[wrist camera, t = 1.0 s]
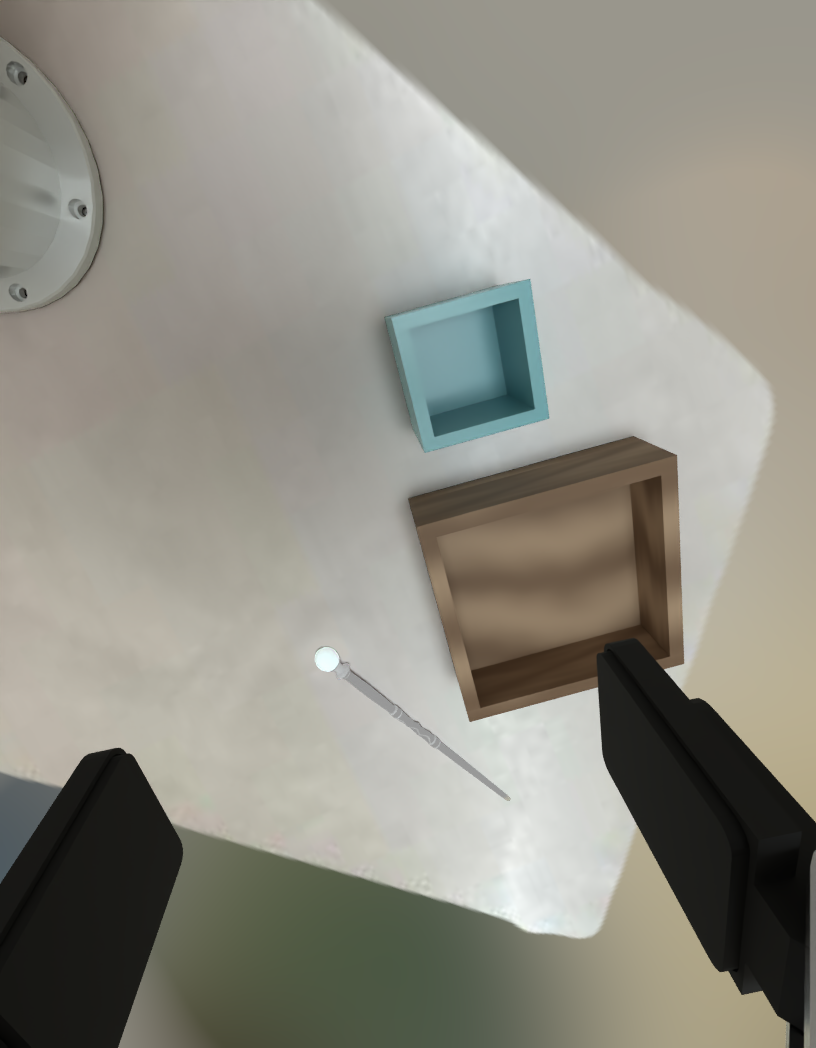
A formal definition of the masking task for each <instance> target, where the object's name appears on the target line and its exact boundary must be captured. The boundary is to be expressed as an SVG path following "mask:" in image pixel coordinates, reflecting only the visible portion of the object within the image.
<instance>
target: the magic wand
mask: <svg viewBox="0 0 816 1048" xmlns="http://www.w3.org/2000/svg"><path fill="white" fill-rule="evenodd" d="M315 663H316V665H317V666H318V668H319V669H321V670H323V671H327V672H329V671H331V672H332V671H335V672H336V678H337V679H338V680H340V679H342V678H343V679H346V680H347V681H348V682H349V683H351V684H352V685H353V686H354V687H355V688H357V689H358V690H359V691H360V692H362V693H363V694H364V695H366V696H367V697H368V698H370V699H371V700H373V701H374V702H375V703H377V704H378V705H380V706H381V707H382V708H384V709H385V710H387V711H388V712H389V714H390V715H392V716H393V717H394V718H396V719H397V720H399V721H401V722H403V723H404V724H405V725H406V726H408V727H410V728H411V729H412V730H413V731H414V732H416V733H417V734H418V735H419V736H421V737H422V738H423V739H425V740H426V741H427V742H428V744H430V745H431V746H432V747H434V748H437V749H438V750H440V751H441V752H442V753H444V754H445V755H446V756H448V757H449V758H450V759H452V760H453V761H454V762H456V763H457V764H458V765H460V766H461V767H462V768H464V769H465V770H466V771H468V772H469V773H470V774H472V775H473V776H474V777H476V778H477V779H478V780H480V781H481V782H482V783H484V784H485V785H486V786H488V787H489V788H490V789H492V790H493V791H494V792H496V793H497V794H498V795H500V796H501V797H503V798H504V799H505V800H507V801H510V797H509V796H508V795H506V794H505V793H504V792H503V791H502V790H500V789H499V788H498V787H497V786H496V785H494V784H493V783H492V782H491V781H489V780H488V779H487V778H486V777H484V776H483V775H482V774H481V773H480V772H478V771H477V770H476V769H475V768H473V767H472V766H471V765H470V764H468V763H467V762H466V761H465V760H463V759H462V758H461V757H459V756H458V755H457V754H456V753H454V752H453V751H452V750H451V749H449V748H448V747H447V746H446V745H444V744H443V743H442V742H441V741H440V739H439V738H437V737H436V736H435V735H432V734H431V733H430V732H429V731H427V730H425V729H424V728H423V727H421V726H420V724H419V723H417V722H415V721H413V720H412V719H411V718H410V717H408V716H407V715H406V714H405V713H404V712H403V711H402V710H401V709H400V708H399V707H397V706H396V705H393V704H392V703H391V702H389V701H388V700H387V699H386V698H385V697H383V696H382V695H381V694H380V693H378V692H377V691H376V690H375V689H374V688H372V687H371V686H370V685H368V684H367V683H366V682H365V681H363V680H362V679H360V678H359V677H358V676H356V675H355V674H353V673H352V672H350V665H349V664H348V663H344V664H341V663H340V659H339V656H338V654H337V652H336V651H335V650H334V649H332V648H329V647H323V648H321V649H319V650H318V651H317V653H316V655H315Z"/></svg>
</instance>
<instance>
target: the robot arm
mask: <svg viewBox="0 0 816 1048" xmlns="http://www.w3.org/2000/svg"><path fill="white" fill-rule="evenodd" d="M25 76H27V81H26V83H25V84H24V81H23V80H24V77H25ZM84 207H87V215H86V217H84V215H83V214H82V209H83V208H84ZM102 224H103V197H102V191H101V185H100V179H99V173H98V169H97V166H96V163H95V160H94V157H93V154H92V151H91V148H90V145H89V142H88V140H87V138H86V136H85V134H84V132H83V130H82V128H81V126H80V124H79V122H78V121H77V119H76V117H75V115H74V113H73V111H72V110H71V109H70V107H69V106H68V104H67V103H66V101H65V100H64V99H63V97H62V96H61V94H60V93H59V92H58V90H57V89H56V87H55V86H54V85H53V84H52V83H51V82H50V81H49V80H48V78H47V77H46V76H45V75H44V74H43V73H42V72H41V71H40V70H39V69H38V68H37V67H36V66H35V65H34V64H33V62H32V61H30V60H29V59H28V58H27V57H25V56H24V55H23V54H22V53H21V52H19V51H18V50H17V49H16V48H15V47H13V46H12V45H11V44H10V43H9V42H7V41H6V40H4V39H3V38H1V37H0V313H4V312H22V311H27V310H31V309H36V308H40V307H43V306H45V305H47V304H49V303H51V302H53V301H55V300H58V299H60V298H61V297H62V296H64V295H65V294H66V293H67V292H68V291H70V290H71V289H72V288H73V287H75V286H76V285H77V284H78V282H79V281H80V279H81V278H82V277H83V275H84V274H85V273H86V271H87V270H88V269H89V267H90V265H91V262H92V260H93V258H94V255H95V253H96V251H97V248H98V245H99V240H100V235H101V230H102ZM25 289H26V291H27V297H26V296H25V294H24V290H25ZM596 661H597V677H598V692H599V708H600V723H601V739H602V753H603V758H604V761H605V764H606V767H607V769H608V771H609V774H610V775H611V777H612V779H613V781H614V783H615V785H616V787H617V788H618V790H619V792H620V794H621V796H622V798H623V799H624V801H625V803H626V805H627V807H628V809H629V811H630V812H631V814H632V816H633V818H634V820H635V822H636V824H637V825H638V827H639V829H640V831H641V833H642V835H643V837H644V838H645V840H646V842H647V844H648V846H649V848H650V850H651V851H652V853H653V855H654V857H655V859H656V861H657V862H658V864H659V866H660V868H661V870H662V872H663V874H664V875H665V877H666V879H667V881H668V883H669V885H670V887H671V888H672V890H673V892H674V894H675V896H676V898H677V899H678V901H679V903H680V905H681V907H682V909H683V911H684V913H685V914H686V916H687V918H688V920H689V922H690V923H691V925H692V927H693V929H694V931H695V933H696V935H697V937H698V939H699V940H700V942H701V944H702V946H703V948H704V950H705V951H706V953H707V955H708V957H709V959H710V960H711V962H712V964H713V965H714V966H715V968H716V969H717V970H718V971H719V972H724V971H729V973H730V975H731V977H732V978H733V980H734V982H735V983H736V986H737V987H738V989H739V991H740V992H741V994H742V995H744V994H749V993H753V992H758V991H763V992H764V994H765V996H766V997H767V999H768V1000H769V1002H770V1004H771V1006H772V1007H773V1009H774V1010H775V1012H776V1014H777V1016H779V1017H781V1018H782V1019H784V1020H785V1021H787V1022H786V1048H816V823H815V821H814V820H813V819H812V818H811V817H810V816H809V815H808V813H806V811H805V810H804V809H803V808H802V807H801V806H800V805H799V803H798V802H797V801H796V800H795V799H794V798H793V797H792V796H791V795H790V793H789V792H788V791H787V790H786V789H785V788H784V787H783V786H782V785H781V784H780V782H778V780H777V779H776V778H775V777H774V776H773V775H772V773H771V772H770V771H769V770H768V769H767V768H766V767H765V766H764V765H763V763H762V762H761V761H760V760H759V759H758V758H757V757H756V756H755V755H754V754H753V752H752V751H751V750H750V749H749V748H748V747H747V746H746V745H745V743H744V742H743V741H742V740H741V739H740V738H739V737H738V736H737V735H736V733H735V732H734V731H733V730H732V729H731V728H730V727H729V726H728V725H727V724H726V722H725V721H724V720H723V719H722V718H721V717H720V716H719V715H718V713H717V712H716V711H715V710H714V709H713V708H712V707H711V706H710V705H709V704H708V703H706V701H704V700H702V699H700V698H696V699H691V700H689V699H688V697H687V696H686V695H685V694H684V693H683V692H682V690H681V689H680V688H679V687H678V686H677V685H676V683H675V682H674V681H673V680H672V679H671V678H670V676H669V675H668V674H667V673H666V672H665V671H664V669H663V668H662V667H661V666H660V665H659V664H658V662H657V661H656V660H655V659H654V658H653V657H652V655H651V654H650V653H649V652H648V651H647V650H646V648H645V647H644V646H643V645H642V644H641V643H640V642H639V641H638V640H637V639H636V638H630V639H625V640H621V641H616V642H611V643H607V644H605V646H604V652H601V653H598V654H597V656H596ZM182 856H183V848H182V843H181V840H180V838H179V837H178V835H177V833H176V831H175V829H174V828H173V826H172V824H171V822H170V821H169V819H168V817H167V815H166V813H165V812H164V810H163V808H162V806H161V804H160V803H159V801H158V799H157V797H156V795H155V794H154V792H153V790H152V788H151V786H150V785H149V783H148V781H147V779H146V777H145V776H144V774H143V772H142V770H141V768H140V767H139V765H138V763H137V761H136V759H135V758H134V756H133V755H131V754H130V753H129V754H126V752H125V751H124V750H123V749H121V748H114V749H109V750H105V751H100V752H95V753H91V754H88V755H86V756H85V757H84V758H83V759H82V760H81V761H80V763H79V764H78V766H77V767H76V769H75V770H74V772H73V774H72V775H71V777H70V778H69V780H68V781H67V783H66V784H65V786H64V787H63V789H62V790H61V792H60V793H59V795H58V796H57V798H56V800H55V801H54V803H53V804H52V806H51V807H50V809H49V810H48V812H47V813H46V815H45V816H44V818H43V819H42V821H41V822H40V824H39V825H38V827H37V829H36V830H35V832H34V833H33V835H32V836H31V838H30V839H29V841H28V842H27V844H26V845H25V847H24V848H23V850H22V852H21V853H20V854H19V856H18V858H17V859H16V861H15V862H14V864H13V865H12V867H11V868H10V870H9V871H8V873H7V874H6V876H5V877H4V879H3V881H2V882H1V884H0V1048H118V1046H119V1043H120V1040H121V1037H122V1034H123V1031H124V1028H125V1026H126V1023H127V1020H128V1017H129V1014H130V1011H131V1008H132V1005H133V1002H134V999H135V996H136V994H137V991H138V988H139V985H140V982H141V979H142V976H143V973H144V970H145V967H146V964H147V962H148V959H149V955H150V953H151V950H152V947H153V944H154V941H155V938H156V935H157V932H158V930H159V927H160V924H161V920H162V918H163V915H164V912H165V909H166V906H167V903H168V901H169V897H170V895H171V892H172V889H173V886H174V883H175V880H176V877H177V874H178V871H179V868H180V866H181V862H182Z"/></svg>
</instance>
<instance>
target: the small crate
mask: <svg viewBox="0 0 816 1048" xmlns="http://www.w3.org/2000/svg"><path fill="white" fill-rule="evenodd" d="M385 321H386V325H387V329H388V332H389V336H390V340H391V344H392V348H393V352H394V356H395V360H396V364H397V368H398V372H399V376H400V380H401V384H402V388H403V392H404V396H405V399H406V403H407V407H408V411H409V415H410V419H411V423H412V427H413V430H414V432H415V434H416V436H417V438H418V440H419V442H420V444H421V446H422V448H423V450H424V452H425V453H426V452H430V451H434V450H437V449H441V448H444V447H448V446H452V445H455V444H459V443H462V442H466V441H470V440H473V439H477V438H480V437H484V436H488V435H491V434H495V433H499V432H502V431H506V430H509V429H513V428H517V427H520V426H524V425H527V424H531V423H535V422H538V421H542V420H545V419H549V412H548V405H547V397H546V390H545V383H544V376H543V368H542V361H541V354H540V347H539V339H538V332H537V325H536V318H535V311H534V303H533V296H532V289H531V282H530V279H528V280H523V281H518V282H513V283H508V284H503V285H498V286H494V287H491V288H487V289H483V290H480V291H476V292H473V293H469V294H466V295H462V296H458V297H455V298H451V299H448V300H444V301H441V302H437V303H433V304H430V305H426V306H423V307H419V308H416V309H412V310H408V311H405V312H401V313H398V314H394V315H391V316H387V317H385Z"/></svg>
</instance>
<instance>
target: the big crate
mask: <svg viewBox="0 0 816 1048" xmlns="http://www.w3.org/2000/svg"><path fill="white" fill-rule="evenodd" d="M408 500H409V503H410V507H411V511H412V514H413V518H414V522H415V525H416V529H417V533H418V536H419V540H420V544H421V547H422V551H423V555H424V558H425V562H426V566H427V569H428V573H429V577H430V580H431V584H432V587H433V591H434V595H435V598H436V602H437V606H438V609H439V613H440V617H441V620H442V624H443V628H444V631H445V635H446V639H447V642H448V646H449V650H450V653H451V657H452V661H453V664H454V668H455V671H456V675H457V679H458V682H459V686H460V689H461V693H462V696H463V700H464V704H465V707H466V711H467V714H468V718H469V721H470V722H471V721H475V720H479V719H482V718H486V717H490V716H493V715H497V714H501V713H504V712H508V711H512V710H516V709H519V708H523V707H527V706H530V705H534V704H538V703H541V702H545V701H549V700H552V699H556V698H560V697H563V696H567V695H571V694H574V693H578V692H582V691H585V690H589V689H593V688H596V687H598V677H597V661H596V656H597V654H598V653H601V652H604V646H605V644H607V643H611V642H616V641H621V640H625V639H630V638H636V639H637V640H638V641H639V642H640V643H641V644H642V645H643V646H644V647H645V648H646V650H647V651H648V652H649V653H650V654H651V655H652V657H653V658H654V659H655V660H656V661H657V662H658V664H659V665H660V666H661V667H662V668H663V669H666V668H670V667H674V666H677V665H681V664H684V647H683V618H682V588H681V559H680V530H679V500H678V471H677V455H675V454H673V453H671V452H668V451H666V450H664V449H661V448H659V447H657V446H655V445H652V444H650V443H648V442H645V441H643V440H641V439H639V438H636V437H634V436H633V437H629V438H626V439H622V440H618V441H615V442H611V443H607V444H604V445H600V446H597V447H593V448H589V449H586V450H582V451H579V452H575V453H571V454H568V455H564V456H560V457H557V458H553V459H550V460H546V461H542V462H539V463H535V464H532V465H528V466H524V467H521V468H517V469H513V470H510V471H506V472H503V473H499V474H495V475H492V476H488V477H484V478H481V479H477V480H474V481H470V482H466V483H463V484H459V485H456V486H452V487H448V488H445V489H441V490H437V491H434V492H430V493H427V494H423V495H419V496H416V497H412V498H409V499H408Z"/></svg>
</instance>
